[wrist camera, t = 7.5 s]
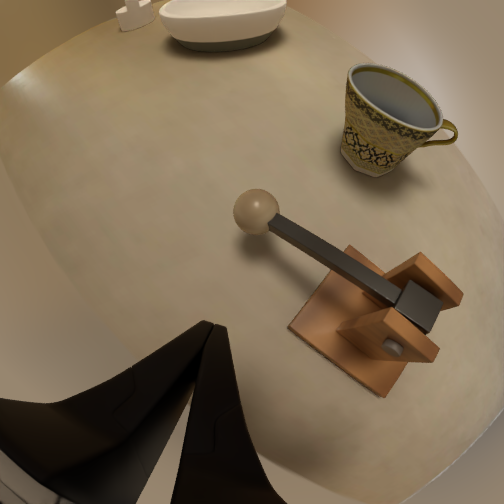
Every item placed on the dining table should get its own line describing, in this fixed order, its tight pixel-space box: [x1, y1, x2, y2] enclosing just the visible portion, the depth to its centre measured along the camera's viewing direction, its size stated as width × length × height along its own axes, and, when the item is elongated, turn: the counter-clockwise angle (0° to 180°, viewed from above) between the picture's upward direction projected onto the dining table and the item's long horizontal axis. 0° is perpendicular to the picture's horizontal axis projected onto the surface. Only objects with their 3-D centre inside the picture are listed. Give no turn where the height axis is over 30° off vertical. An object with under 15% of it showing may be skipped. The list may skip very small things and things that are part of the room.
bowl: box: [159, 0, 287, 52], centre depth 34 cm, size 22×22×8 cm
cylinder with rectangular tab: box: [116, 0, 155, 31], centre depth 38 cm, size 9×9×12 cm
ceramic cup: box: [341, 63, 458, 177], centre depth 23 cm, size 13×10×10 cm
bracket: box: [288, 245, 463, 398], centre depth 17 cm, size 11×9×10 cm
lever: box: [233, 189, 443, 335], centre depth 17 cm, size 16×3×3 cm, turn 50°
